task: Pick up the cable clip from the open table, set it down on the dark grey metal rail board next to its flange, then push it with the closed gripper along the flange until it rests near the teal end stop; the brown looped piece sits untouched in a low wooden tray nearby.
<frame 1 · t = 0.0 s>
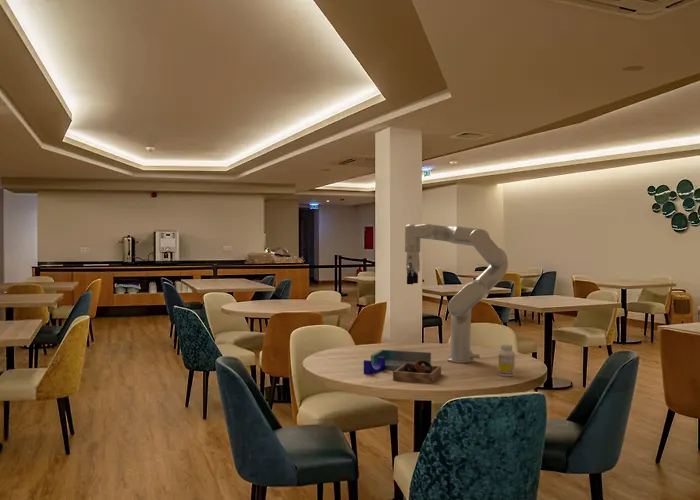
hand: (412, 283, 303), 37 cm above the table, tool pointing down, fingers open, 9 cm apart
brown looped piece: (417, 377, 257), resting in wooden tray
supplement bottle: (506, 375, 262), on the table
cable clip: (373, 372, 268), on the table
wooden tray: (417, 377, 257), on the table
rail: (401, 367, 279), on the table
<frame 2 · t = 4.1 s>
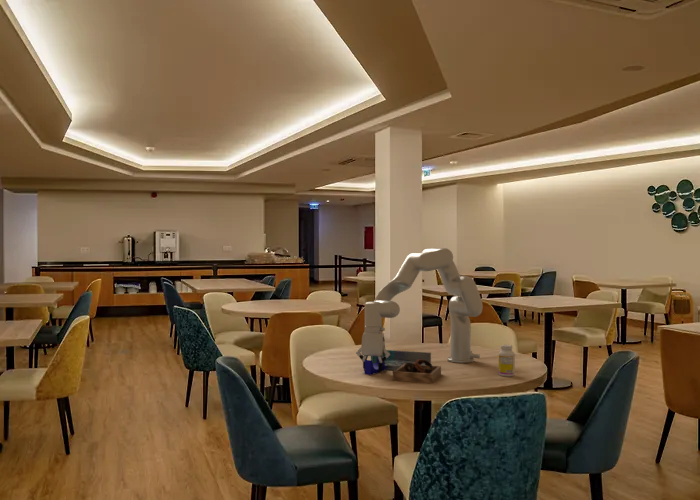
hand: (372, 370, 268), 1 cm above the table, tool pointing down, fingers open, 5 cm apart
brown looped piece: (418, 377, 259), resting in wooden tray
everything else where it was.
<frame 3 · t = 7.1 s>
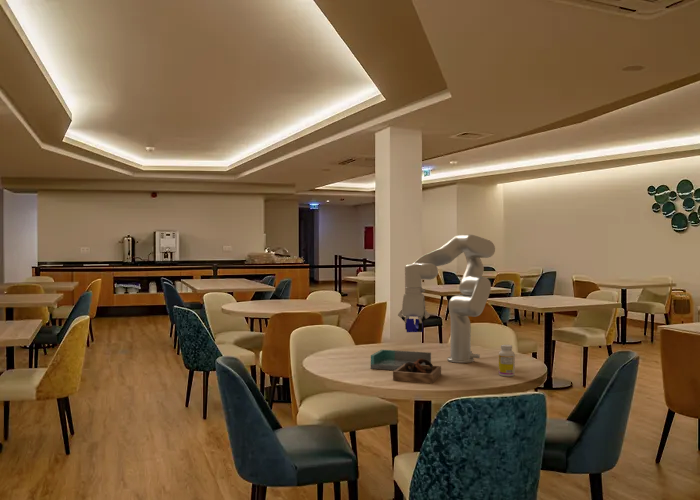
hand: (413, 331, 277), 17 cm above the table, tool pointing down, fingers closed on cable clip, 4 cm apart
brown looped piece: (418, 376, 260), resting in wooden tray
cable clip: (413, 332, 276), point 16 cm above the table, touching gripper
everything else where it was.
when the fingers open (3 cm above the table, at t = 9.7 s): cable clip drops 1 cm, resting on rail.
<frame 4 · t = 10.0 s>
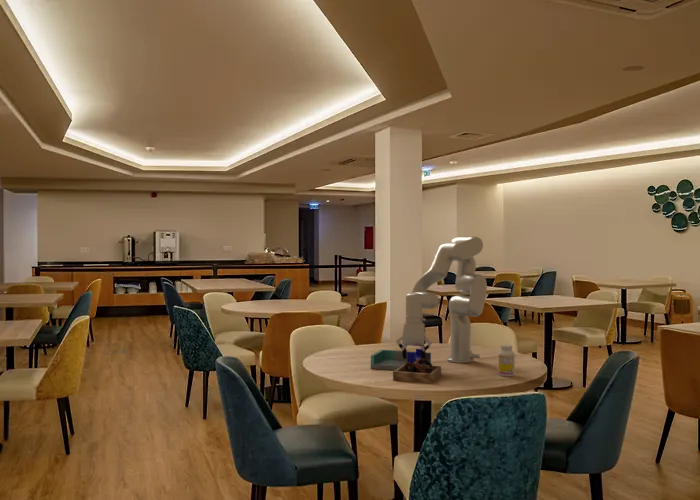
hand: (413, 359, 277), 4 cm above the table, tool pointing down, fingers open, 7 cm apart
cable clip: (413, 364, 276), point 2 cm above the table, touching rail
everything else where it was.
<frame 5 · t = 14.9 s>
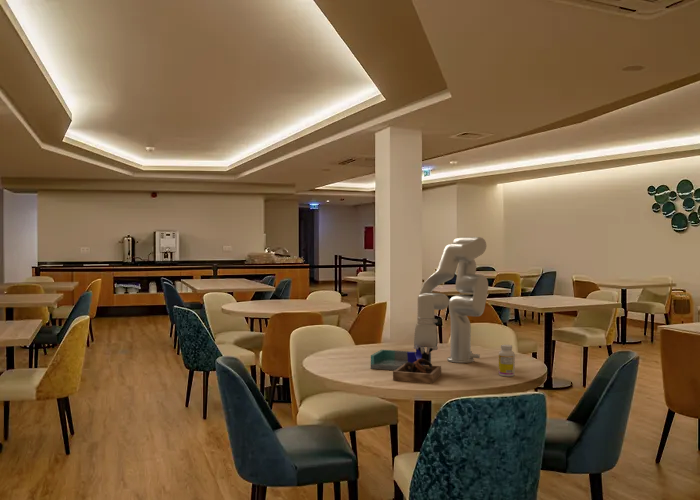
hand: (425, 362, 275), 3 cm above the table, tool pointing down, fingers closed
cable clip: (414, 363, 276), point 2 cm above the table, touching gripper, rail
everything else where it was.
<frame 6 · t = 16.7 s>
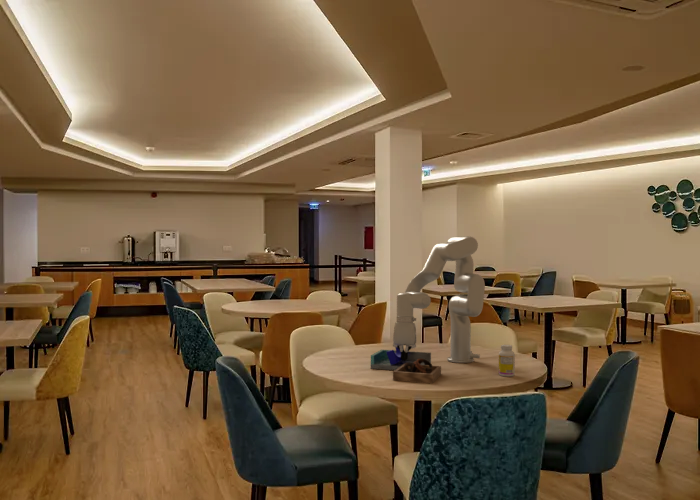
hand: (404, 360, 277), 3 cm above the table, tool pointing down, fingers closed
cable clip: (397, 361, 279), point 3 cm above the table, touching gripper, rail
everything else where it was.
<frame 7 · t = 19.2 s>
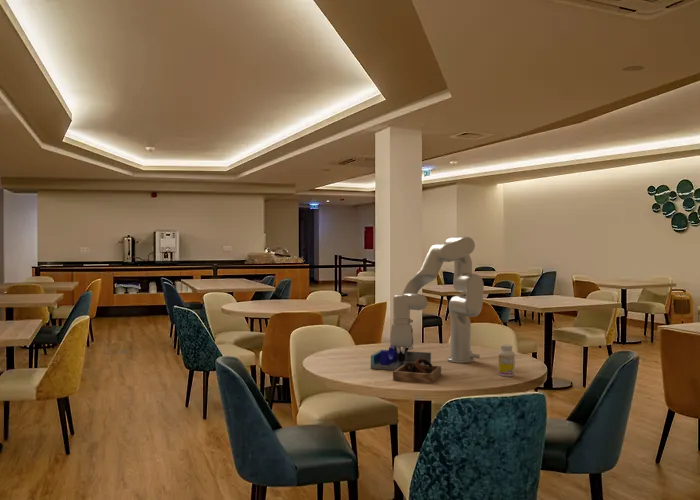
hand: (401, 361, 279), 3 cm above the table, tool pointing down, fingers closed
cable clip: (386, 362, 280), point 2 cm above the table, touching rail
everything else where it was.
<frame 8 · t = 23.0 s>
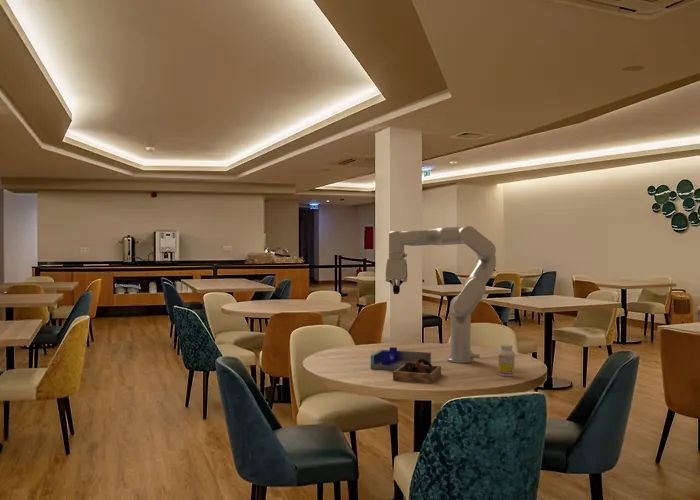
hand: (396, 293, 297), 32 cm above the table, tool pointing down, fingers closed
nothing on the table moved.
at the end: cable clip inside the target area on the rail (1.2 cm from its centre), point 1.8 cm above the rail's base; cable clip tilted 0° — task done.
